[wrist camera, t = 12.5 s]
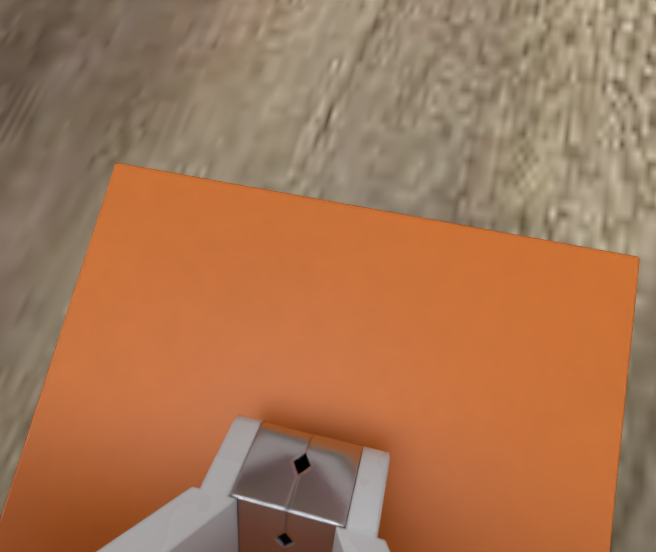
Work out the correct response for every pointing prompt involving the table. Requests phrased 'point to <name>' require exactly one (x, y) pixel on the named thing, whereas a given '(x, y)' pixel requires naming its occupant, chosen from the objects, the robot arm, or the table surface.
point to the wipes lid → (331, 366)
